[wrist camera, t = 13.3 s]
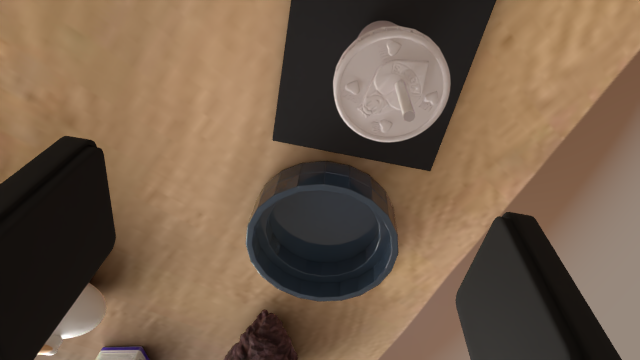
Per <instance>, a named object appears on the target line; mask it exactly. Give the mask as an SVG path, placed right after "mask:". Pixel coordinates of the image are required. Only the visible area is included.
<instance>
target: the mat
mask: <svg viewBox="0 0 640 360" xmlns="http://www.w3.org/2000/svg"><path fill="white" fill-rule="evenodd" d="M495 2H496V0H291V7H290V14H289V22H288V29H287V36H286V44H285V51H284V58H283V66H282V73H281V81H280V88H279V95H278V103H277V110H276V117H275V125H274V132H273V141H278V142H283V143H289V144H294V145H299V146H304V147H309V148H314V149H319V150H324V151H329V152H335V153H340V154H345V155H350V156H355V157H360V158H365V159H370V160H376V161H381V162H386V163H391V164H396V165H401V166H406V167H411V168H416V169H422V170H427V171H431V168H432V166H433V163H434V160H435V158H436V155H437V153H438V150H439V147H440V145H441V142H442V140H443V137H444V134H445V132H446V129H447V127H448V124H449V121H450V119H451V116H452V114H453V111H454V108H455V106H456V103H457V101H458V98H459V95H460V93H461V90H462V88H463V85H464V82H465V80H466V77H467V75H468V72H469V70H470V67H471V64H472V62H473V59H474V57H475V54H476V51H477V49H478V46H479V44H480V41H481V38H482V36H483V33H484V31H485V28H486V25H487V23H488V20H489V18H490V15H491V12H492V10H493V7H494V5H495ZM376 21H389V22H392V23H394V24H396V25H397V26H402V27H407V28H411V29H415V30H417V31H419V32H421V33H422V34H424V35H426V36H428V37H429V38H430V39H431V40H432V41H433V42H434V43H435V44H436V45H437V46H438V47H439V48H440V50H441V52H442V54H443V56H444V58H445V60H446V62H447V65H448V68H449V72H450V83H451V85H450V93H449V97H448V101H447V103H446V106H445V108H444V109H443V111H442V113H441V114H440V116H439V117H438V118H437V120H436V121H435V122H434V123H433V124H432V125H431V126H430V127H429V128H427V129H426V130H425V131H423V132H422V133H420V134H418V135H416V136H414V137H412V138H409V139H406V140H403V141H398V142H379V141H374V140H370V139H367V138H365V137H363V136H361V135H359V134H357V133H356V132H355V131H353V130H352V129H351V128H350V127H349V126H348V125H347V124H346V123H345V122H344V120H343V119H342V117H341V116H340V114H339V112H338V110H337V107H336V104H335V99H334V91H333V79H334V74H335V69H336V66H337V64H338V62H339V60H340V58H341V56H342V54H343V53H344V51H345V50H346V49H347V48H348V47H349V46H350V45H351V44H352V43H353V41H355V40H356V39H357V38H358V36H359V34H360V33H361V31H362V30H363V29H364V28H365V27H366V26H367V25H369V24H371V23H373V22H376Z"/></svg>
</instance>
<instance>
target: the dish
mask: <svg viewBox="0 0 640 360" xmlns="http://www.w3.org/2000/svg"><path fill="white" fill-rule="evenodd" d="M246 247H247V250H248V254H249V257H250V260H251V262H252V264H253V265H254V267H255V268H256V269H257V271H258V272H259V273H260V275H261V276H262V277H263V278H264V279H266V280H267V281H268V282H269V283H271V284H272V285H273V286H275V287H276V288H277V289H279V290H281V291H284V292H286V293H288V294H291V295H293V296H295V297H298V298H302V299H308V300H313V301H342V300H346V299H349V298H353V297H356V296H360V295H362V294H364V293H366V292H367V291H369V290H371V289H373V288H374V287H376V286H378V285H379V284H380V283H381V282H382V281H383V280H384V279H385V278H386V276H387V275H388V274H389V273H390V272H391V271H392V269H393V266H394V263H395V261H396V258H397V256H398V234H397V228H396V221H395V214H394V208H393V206H392V204H391V202H390V200H389V198H388V195H387V193H386V192H385V190H384V189H383V188H382V187H381V186H380V185H379V184H378V183H377V182H376V181H375V180H374V179H373V178H372V177H370V176H369V175H367V174H365V173H363V172H361V171H360V170H358V169H356V168H354V167H352V166H349V165H344V164H339V163H334V162H329V161H321V162H309V163H301V164H298V165H296V166H293V167H290V168H288V169H285V170H283V171H281V172H280V173H279V174H277V175H276V176H275V177H274V178H273V179H271V180H270V181H269V182H268V183H266V185H265V186H264V188H263V190H262V191H261V193H260V195H259V197H258V198H257V200H256V203H255V206H254V209H253V212H252V214H251V217H250V220H249V223H248V226H247V235H246Z"/></svg>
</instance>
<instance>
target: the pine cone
mask: <svg viewBox="0 0 640 360" xmlns="http://www.w3.org/2000/svg"><path fill="white" fill-rule="evenodd" d="M297 356H298V355H297V353H296V352H295V350H294V348H293V346H292V342H291V339H290V337H289V336H288V335H287V331H286V330H285V329H284V327H283V324H282V321H281V320H278V317H277V315H276V314H273V313H270V314H269V313H268V311H267V310H263V311H262V313H260V314H259V315H258V316H257V319H256V320H255V321H254V322H253V323H252V325H250V326H249V327H248V328H247V329H246V332H245V333H243V334H241V337H240V342H239V343H236V344H235V345H234V346H233V347H232V348H231V350H230V351H229V352H228V354H227V355H226V357H225V359H224V360H298V357H297Z"/></svg>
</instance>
